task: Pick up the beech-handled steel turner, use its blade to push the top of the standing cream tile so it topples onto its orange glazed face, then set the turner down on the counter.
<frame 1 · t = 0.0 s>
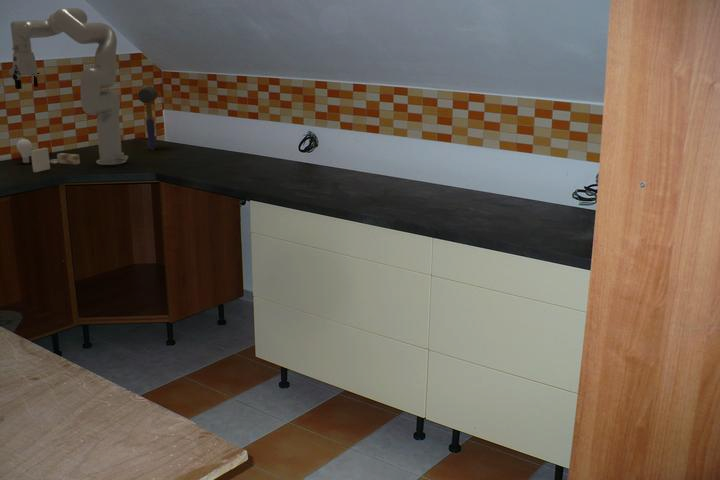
hand: (26, 87, 370), 31 cm above the worktop, tool pointing down, fingers open, 9 cm apart
tile: (41, 170, 345), on the worktop
rubber mallet: (152, 149, 393), on the worktop
lightbulb: (26, 163, 360), on the worktop
turner: (68, 163, 361), on the worktop
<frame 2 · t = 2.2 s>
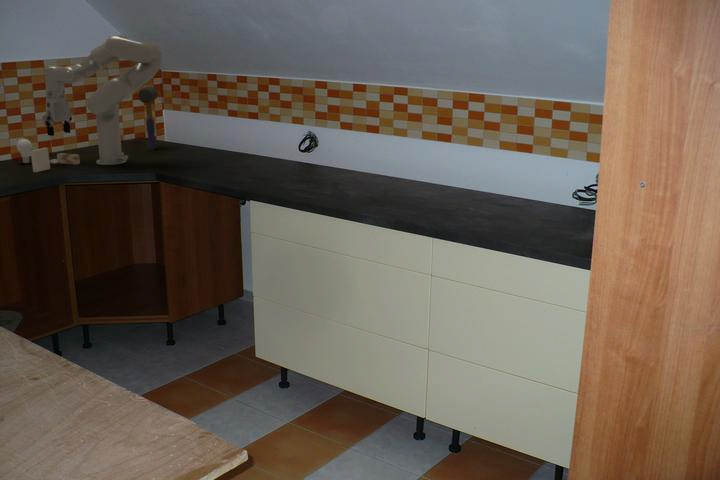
hand: (59, 134, 358), 13 cm above the worktop, tool pointing down, fingers open, 9 cm apart
nothing on the worktop moved.
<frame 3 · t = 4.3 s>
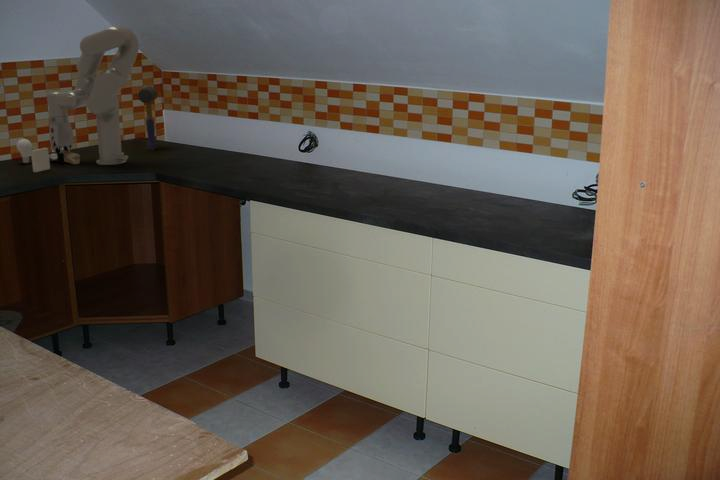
hand: (64, 161, 361), 1 cm above the worktop, tool pointing down, fingers closed on turner, 2 cm apart
turner: (68, 161, 360), point 1 cm above the worktop, tilted 9°, touching gripper
everything else where it was.
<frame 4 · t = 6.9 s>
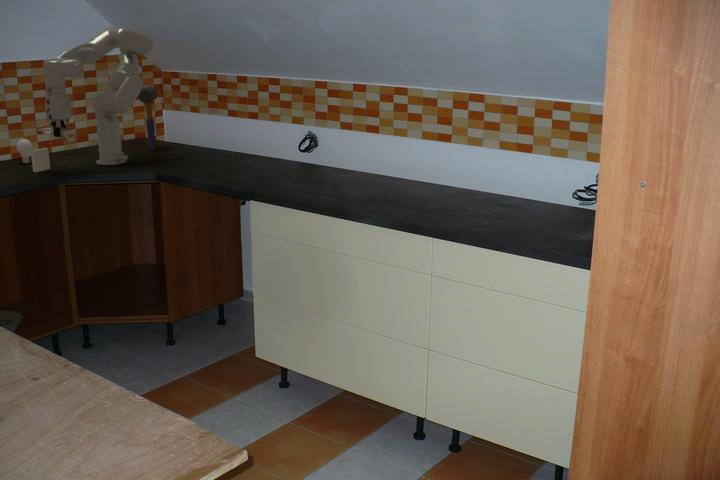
hand: (60, 135, 336), 15 cm above the worktop, tool pointing down, fingers closed on turner, 2 cm apart
turner: (62, 138, 336), point 14 cm above the worktop, tilted 15°, touching gripper
everything else where it was.
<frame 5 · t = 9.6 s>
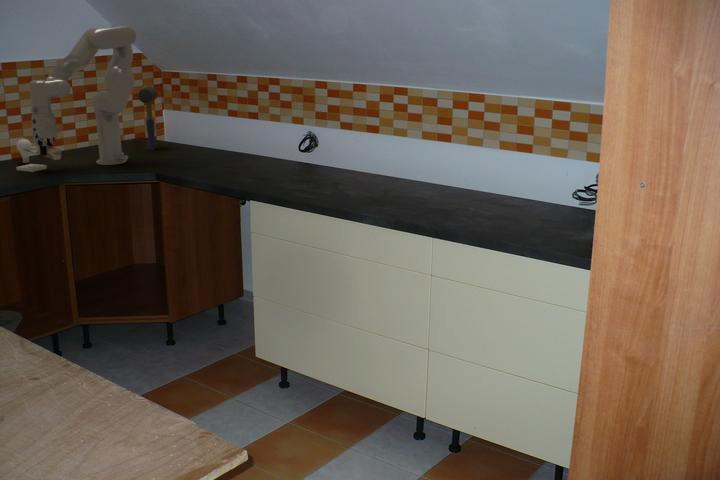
hand: (46, 154, 342), 7 cm above the worktop, tool pointing down, fingers closed on turner, 2 cm apart
tile: (39, 168, 345), point 1 cm above the worktop, tilted 90°
turner: (48, 156, 342), point 6 cm above the worktop, tilted 13°, touching gripper
everything else where it was.
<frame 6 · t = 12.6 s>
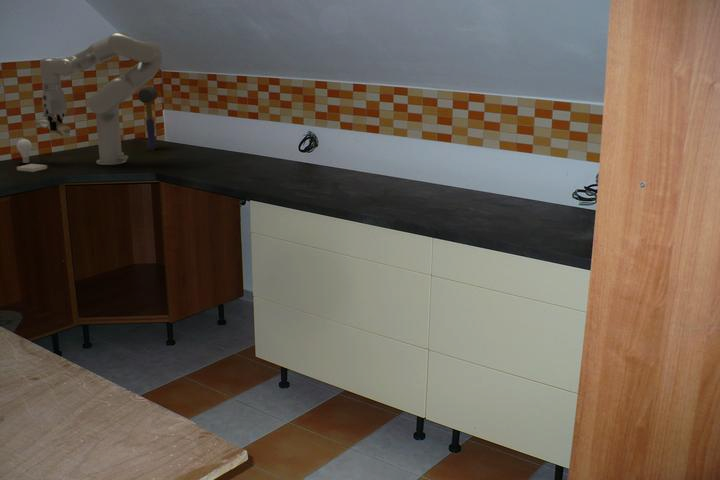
hand: (56, 129, 356), 15 cm above the worktop, tool pointing down, fingers closed on turner, 3 cm apart
turner: (58, 131, 356), point 14 cm above the worktop, tilted 22°, touching gripper
everything else where it was.
when the fingers open (2 cm above the worktop, at t = 15.2 s): turner drops 2 cm, on the worktop.
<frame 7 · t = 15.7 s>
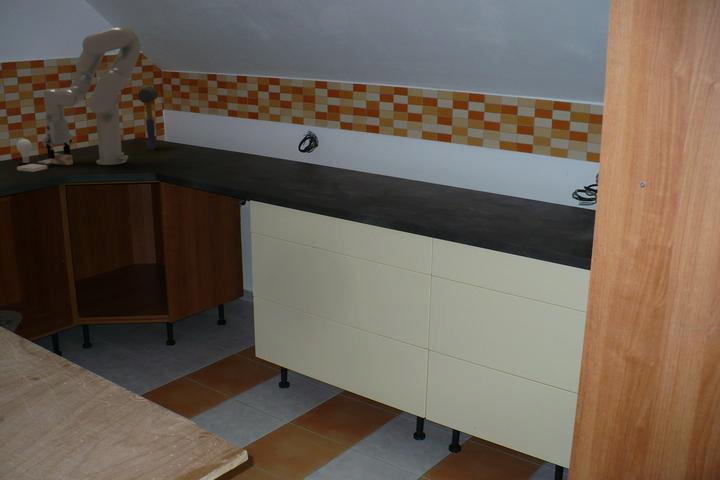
hand: (59, 156, 359), 3 cm above the worktop, tool pointing down, fingers open, 9 cm apart
turner: (61, 163, 360), on the worktop
everything else where it was.
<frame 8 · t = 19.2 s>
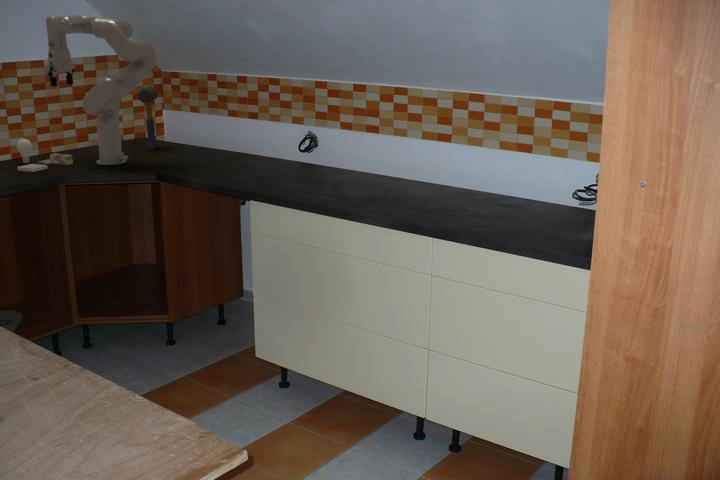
hand: (62, 85, 358), 33 cm above the worktop, tool pointing down, fingers open, 9 cm apart
nothing on the worktop moved.
at the end: tile tilted 90°; the gripper is holding nothing; turner inside the target area (2.3 cm from its centre), on the worktop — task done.
